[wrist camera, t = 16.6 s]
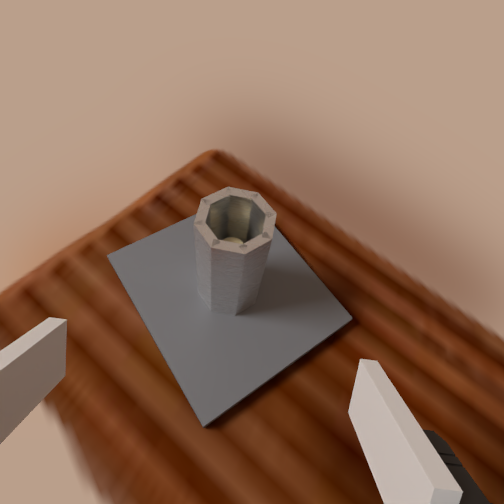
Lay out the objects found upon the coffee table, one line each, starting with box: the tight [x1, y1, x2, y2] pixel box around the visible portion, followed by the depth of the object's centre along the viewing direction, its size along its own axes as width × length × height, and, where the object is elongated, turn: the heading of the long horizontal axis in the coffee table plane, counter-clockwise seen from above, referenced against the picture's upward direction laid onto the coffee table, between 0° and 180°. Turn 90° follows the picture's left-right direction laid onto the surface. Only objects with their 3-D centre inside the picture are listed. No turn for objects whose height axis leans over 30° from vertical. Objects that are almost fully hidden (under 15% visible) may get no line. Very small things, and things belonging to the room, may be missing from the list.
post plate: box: [107, 214, 353, 428], centre depth 34 cm, size 20×18×10 cm
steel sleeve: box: [194, 187, 276, 316], centre depth 32 cm, size 6×6×12 cm
